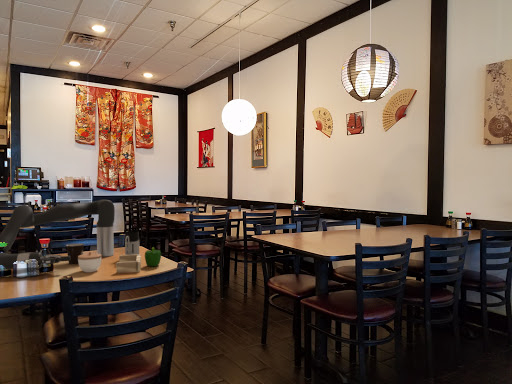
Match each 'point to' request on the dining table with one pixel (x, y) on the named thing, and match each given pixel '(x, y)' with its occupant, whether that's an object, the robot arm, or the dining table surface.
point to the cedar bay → (128, 263)
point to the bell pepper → (152, 257)
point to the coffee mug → (74, 252)
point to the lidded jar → (89, 262)
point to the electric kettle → (131, 242)
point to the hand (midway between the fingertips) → (69, 258)
